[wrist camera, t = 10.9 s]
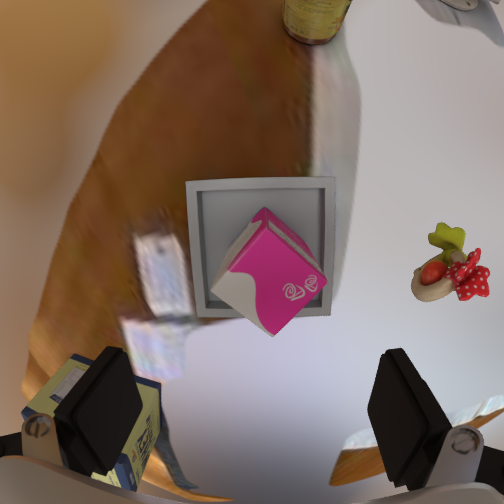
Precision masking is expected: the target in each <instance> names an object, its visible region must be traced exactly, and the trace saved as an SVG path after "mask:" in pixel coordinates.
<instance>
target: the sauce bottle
mask: <svg viewBox="0 0 504 504" xmlns="http://www.w3.org/2000/svg"><path fill="white" fill-rule="evenodd" d="M351 2H352V0H283V14H282V17H283V19H284V28H285V29H286V31H287V32H288V33H289V34H290V35H291V36H292V37H294V38H295V39H296V40H298V41H300V42H303V43H306V44H313V45H314V44H323V43H326V42H328V41H329V40H331V39H332V38H333V37H334V36H335V35H336V33H337V32H338V31H339V29H340V27H341V25H342V22H343V20H344V18H345V16H346V13H347V11H348V9H349V6H350V4H351Z"/></svg>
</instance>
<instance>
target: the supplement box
mask: <svg viewBox="0 0 504 504" xmlns="http://www.w3.org/2000/svg"><path fill="white" fill-rule="evenodd" d="M327 283H328V281H327V279H326V277H325V275H324V273H323V272H322V270H321V268H320V266H319V265H318V263H317V261H316V260H315V258H314V256H313V255H312V253H311V251H310V249H309V248H308V246H307V244H306V243H305V241H304V240H303V239H302V238H300V237H299V236H298V235H297V234H296V233H295V232H294V231H293V230H291V229H290V228H289V227H288V226H287V225H286V224H285V223H284V222H282V221H281V220H280V219H279V218H278V217H277V216H276V215H274V214H273V213H272V212H271V211H270V210H268V209H267V208H266V207H263V208H262V209H261V210H260V211H259V212H258V213H257V214H256V215H255V216H254V217H253V218H252V220H251V221H250V222H249V223H248V224H247V225H246V226H245V228H244V229H243V230H242V231H241V232H240V233H239V235H238V236H237V237H236V238H235V239H234V241H233V242H232V243H231V244H230V246H229V247H228V250H227V253H226V255H225V258H224V260H223V262H222V264H221V267H220V269H219V271H218V273H217V276H216V278H215V280H214V283H213V285H212V288H211V292H212V293H214V294H215V295H216V296H218V297H219V298H220V299H222V300H223V301H224V302H226V303H227V304H228V305H230V306H231V307H232V308H234V309H235V310H236V311H238V312H239V313H240V314H242V315H243V316H245V317H246V318H247V319H248V320H250V321H251V322H252V323H254V324H255V325H257V326H258V327H259V328H260V329H262V330H263V331H264V332H266V333H268V334H269V335H270V336H271V337H273V336H275V335H276V334H277V333H278V332H279V331H280V330H281V329H282V328H283V327H284V326H285V325H286V324H287V323H288V322H289V321H290V320H291V319H292V318H293V317H294V316H295V315H296V314H297V313H298V312H299V311H300V310H301V309H302V308H303V307H304V306H305V305H307V304H308V303H309V302H310V300H311V299H312V298H313V297H314V296H315V295H316V294H317V293H318V292H319V291H320V290H321V289H322V288H323V287H324V286H325V285H326V284H327Z"/></svg>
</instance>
